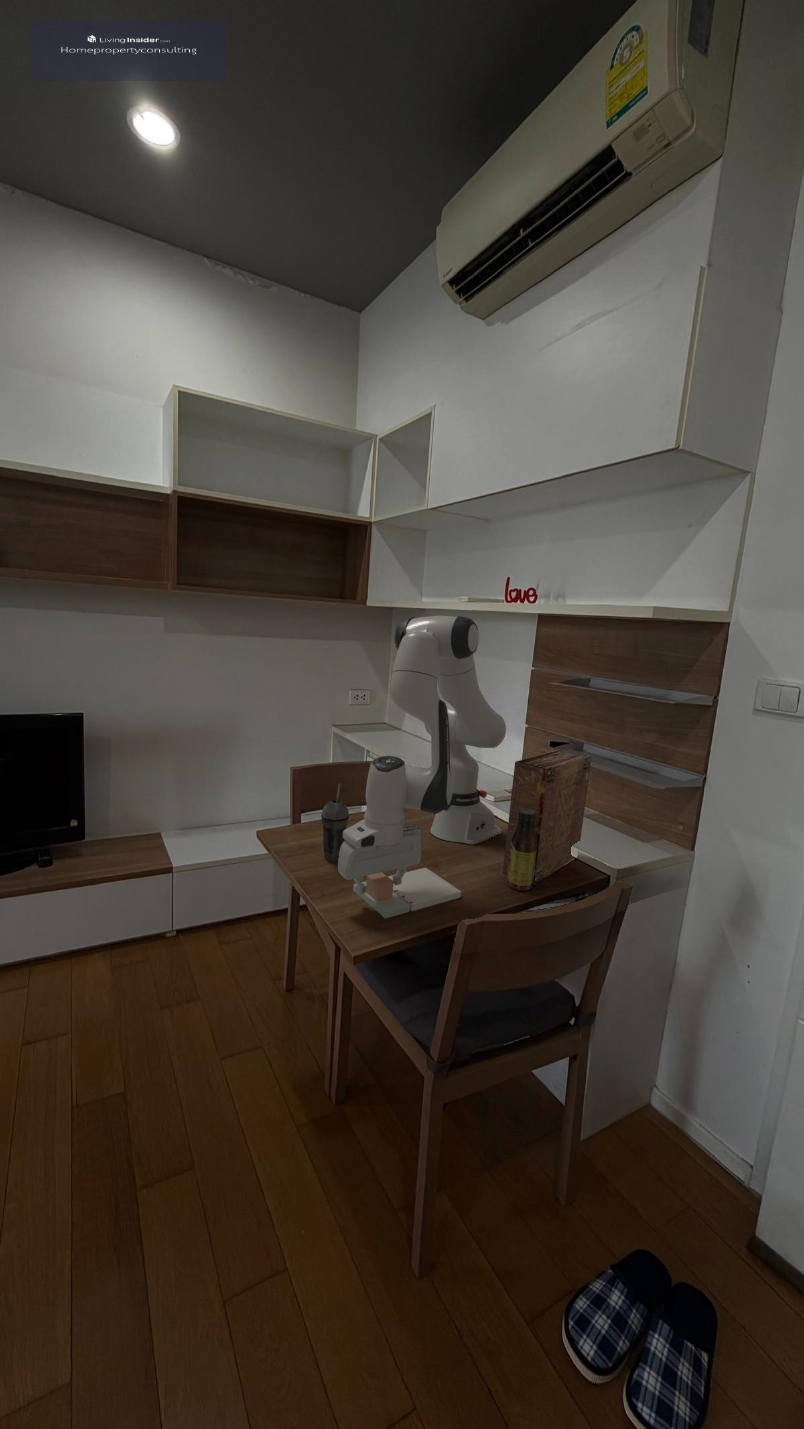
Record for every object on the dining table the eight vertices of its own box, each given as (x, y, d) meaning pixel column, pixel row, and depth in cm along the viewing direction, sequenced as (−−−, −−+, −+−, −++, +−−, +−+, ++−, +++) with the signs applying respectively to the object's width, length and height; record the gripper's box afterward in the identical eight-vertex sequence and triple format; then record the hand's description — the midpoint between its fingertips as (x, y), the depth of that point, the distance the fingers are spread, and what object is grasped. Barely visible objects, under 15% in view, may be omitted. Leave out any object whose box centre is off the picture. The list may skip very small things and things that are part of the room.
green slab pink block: (376, 884, 137) (377, 863, 136) (409, 911, 126) (411, 888, 125) (353, 890, 134) (354, 868, 133) (384, 918, 122) (386, 894, 121)
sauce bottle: (514, 877, 147) (522, 803, 143) (536, 886, 143) (545, 810, 139) (501, 886, 142) (509, 809, 138) (524, 895, 138) (533, 816, 134)
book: (548, 847, 168) (561, 748, 163) (578, 858, 162) (592, 755, 157) (502, 872, 149) (514, 761, 144) (533, 885, 143) (548, 770, 138)
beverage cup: (313, 858, 149) (316, 785, 146) (329, 849, 155) (333, 778, 152) (336, 866, 146) (340, 790, 142) (352, 856, 152) (356, 784, 149)
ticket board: (425, 873, 146) (425, 867, 145) (460, 897, 134) (461, 891, 134) (378, 884, 138) (378, 878, 137) (411, 911, 126) (412, 904, 126)
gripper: (413, 818, 135) (409, 873, 137) (336, 832, 124) (332, 891, 126) (429, 828, 130) (424, 884, 132) (350, 842, 118) (346, 904, 121)
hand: (379, 888), depth 129 cm, fingers open, 8 cm apart
